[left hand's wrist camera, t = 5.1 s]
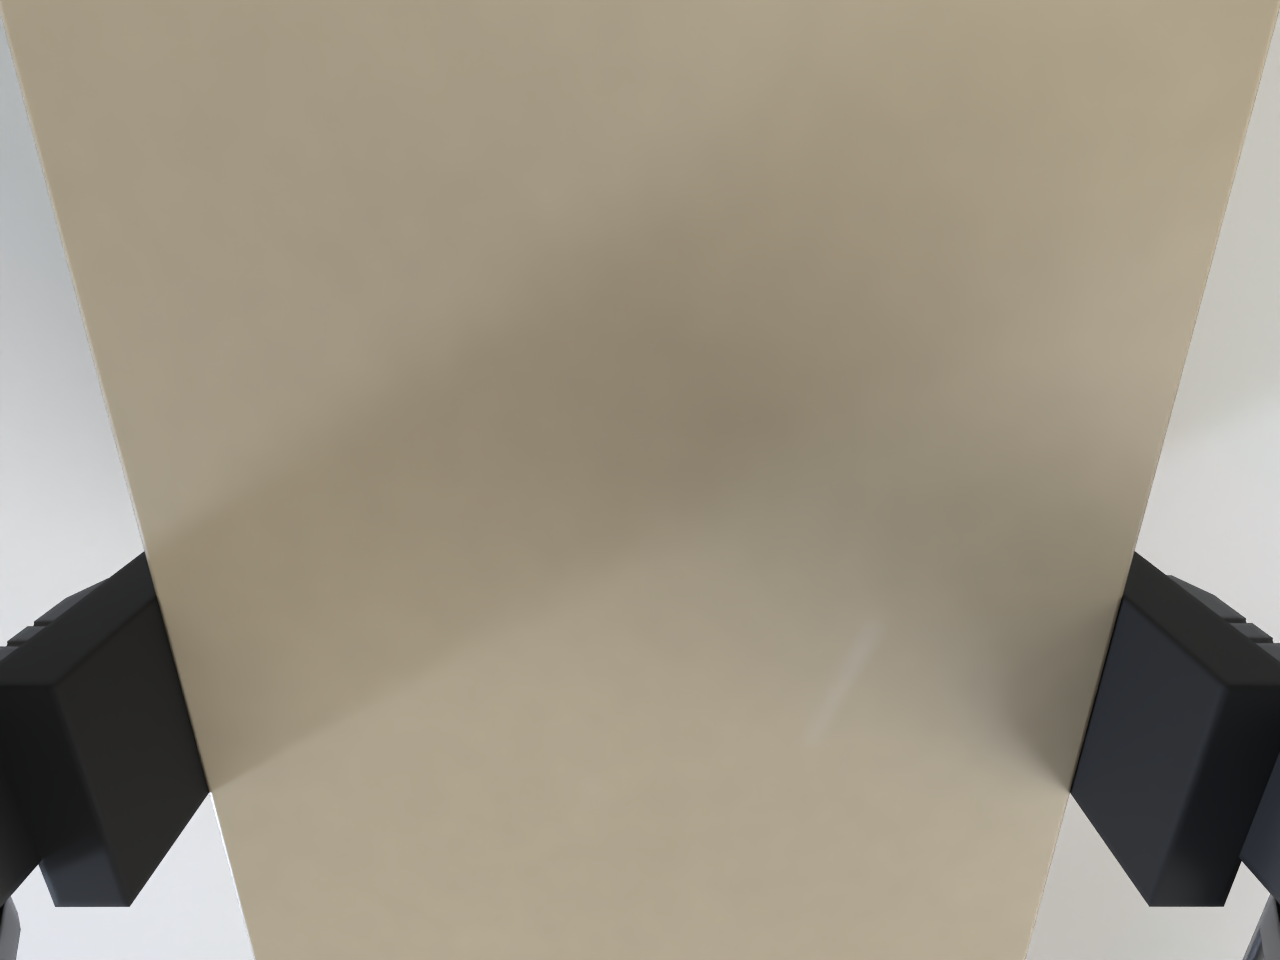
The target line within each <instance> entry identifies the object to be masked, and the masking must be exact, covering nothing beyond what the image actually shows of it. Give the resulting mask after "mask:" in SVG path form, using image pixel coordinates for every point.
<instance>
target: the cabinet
mask: <svg viewBox="0 0 1280 960" xmlns="http://www.w3.org/2000/svg"><path fill="white" fill-rule="evenodd" d="M1279 8H1280V0H0V14H1V17H2V21H3V25H4V29H5V32H6V36H7V40H8V44H9V47H10V51H11V55H12V58H13V62H14V66H15V70H16V73H17V77H18V81H19V85H20V88H21V92H22V96H23V100H24V103H25V107H26V111H27V114H28V118H29V122H30V126H31V129H32V133H33V137H34V141H35V144H36V148H37V152H38V155H39V159H40V163H41V167H42V170H43V174H44V178H45V182H46V185H47V189H48V193H49V196H50V200H51V204H52V208H53V211H54V215H55V219H56V223H57V226H58V230H59V234H60V238H61V241H62V245H63V249H64V252H65V256H66V260H67V264H68V267H69V271H70V275H71V279H72V282H73V286H74V290H75V293H76V297H77V301H78V305H79V308H80V312H81V316H82V320H83V323H84V327H85V331H86V334H87V338H88V342H89V346H90V349H91V353H92V357H93V361H94V364H95V368H96V372H97V376H98V379H99V383H100V387H101V390H102V394H103V398H104V402H105V405H106V409H107V413H108V417H109V420H110V424H111V428H112V431H113V435H114V439H115V443H116V446H117V450H118V454H119V458H120V461H121V465H122V469H123V472H124V476H125V480H126V484H127V487H128V491H129V495H130V499H131V502H132V506H133V510H134V514H135V517H136V521H137V525H138V528H139V532H140V536H141V540H142V543H143V547H144V551H145V555H146V558H147V562H148V566H149V569H150V573H151V577H152V581H153V584H154V588H155V592H156V596H157V599H158V603H159V607H160V610H161V614H162V618H163V622H164V625H165V629H166V633H167V637H168V640H169V644H170V648H171V652H172V655H173V659H174V663H175V666H176V670H177V674H178V678H179V681H180V685H181V689H182V693H183V696H184V700H185V704H186V707H187V711H188V715H189V719H190V722H191V726H192V730H193V734H194V737H195V741H196V745H197V748H198V752H199V756H200V760H201V763H202V767H203V771H204V775H205V778H206V782H207V786H208V790H209V793H210V797H211V801H212V804H213V808H214V812H215V816H216V819H217V823H218V827H219V831H220V834H221V838H222V842H223V845H224V849H225V853H226V857H227V860H228V864H229V868H230V872H231V875H232V879H233V883H234V886H235V890H236V894H237V898H238V901H239V905H240V909H241V913H242V916H243V920H244V924H245V928H246V931H247V935H248V939H249V942H250V946H251V950H252V954H253V957H254V960H1025V958H1026V954H1027V950H1028V947H1029V943H1030V939H1031V936H1032V932H1033V928H1034V924H1035V921H1036V917H1037V913H1038V909H1039V906H1040V902H1041V898H1042V894H1043V891H1044V887H1045V883H1046V879H1047V876H1048V872H1049V868H1050V864H1051V861H1052V857H1053V853H1054V850H1055V846H1056V842H1057V838H1058V835H1059V831H1060V827H1061V823H1062V820H1063V816H1064V812H1065V808H1066V805H1067V801H1068V797H1069V793H1070V790H1071V786H1072V782H1073V779H1074V775H1075V771H1076V767H1077V764H1078V760H1079V756H1080V752H1081V749H1082V745H1083V741H1084V737H1085V734H1086V730H1087V726H1088V722H1089V719H1090V715H1091V711H1092V707H1093V704H1094V700H1095V696H1096V693H1097V689H1098V685H1099V681H1100V678H1101V674H1102V670H1103V666H1104V663H1105V659H1106V655H1107V651H1108V648H1109V644H1110V640H1111V636H1112V633H1113V629H1114V625H1115V621H1116V618H1117V614H1118V610H1119V607H1120V603H1121V599H1122V595H1123V592H1124V588H1125V584H1126V580H1127V577H1128V573H1129V569H1130V565H1131V562H1132V558H1133V554H1134V550H1135V547H1136V543H1137V539H1138V535H1139V532H1140V528H1141V524H1142V521H1143V517H1144V513H1145V509H1146V506H1147V502H1148V498H1149V494H1150V491H1151V487H1152V483H1153V479H1154V476H1155V472H1156V468H1157V464H1158V461H1159V457H1160V453H1161V450H1162V446H1163V442H1164V438H1165V435H1166V431H1167V427H1168V423H1169V420H1170V416H1171V412H1172V408H1173V405H1174V401H1175V397H1176V393H1177V390H1178V386H1179V382H1180V378H1181V375H1182V371H1183V367H1184V364H1185V360H1186V356H1187V352H1188V349H1189V345H1190V341H1191V337H1192V334H1193V330H1194V326H1195V322H1196V319H1197V315H1198V311H1199V307H1200V304H1201V300H1202V296H1203V292H1204V289H1205V285H1206V281H1207V278H1208V274H1209V270H1210V266H1211V263H1212V259H1213V255H1214V251H1215V248H1216V244H1217V240H1218V236H1219V233H1220V229H1221V225H1222V221H1223V218H1224V214H1225V210H1226V206H1227V203H1228V199H1229V195H1230V192H1231V188H1232V184H1233V180H1234V177H1235V173H1236V169H1237V165H1238V162H1239V158H1240V154H1241V150H1242V147H1243V143H1244V139H1245V135H1246V132H1247V128H1248V124H1249V121H1250V117H1251V113H1252V109H1253V106H1254V102H1255V98H1256V94H1257V91H1258V87H1259V83H1260V79H1261V76H1262V72H1263V68H1264V64H1265V61H1266V57H1267V53H1268V49H1269V46H1270V42H1271V38H1272V35H1273V31H1274V27H1275V23H1276V20H1277V16H1278V12H1279Z"/></svg>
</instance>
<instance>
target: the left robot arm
mask: <svg viewBox="0 0 1280 960" xmlns="http://www.w3.org/2000/svg"><path fill="white" fill-rule="evenodd" d="M1272 640H1273V638H1272V637H1270V636H1269V635H1268V634H1266V633H1265V632H1264V631H1262V630H1261V629H1259V628H1258V627H1257V626H1255V625H1254V624H1253V623H1246V618H1244V617H1243V616H1242V615H1240V614H1239V613H1238V612H1236V611H1235V610H1234V609H1232V608H1231V607H1229V606H1228V605H1227V604H1225V603H1224V602H1223V601H1221V600H1220V599H1219V598H1217V597H1216V596H1214V595H1213V594H1210V593H1208V592H1206V591H1204V590H1202V589H1200V588H1197V587H1195V586H1193V585H1191V584H1189V583H1187V582H1185V581H1182V580H1180V579H1178V578H1176V577H1174V576H1172V575H1165V574H1164V573H1163V572H1161V571H1160V570H1159V569H1157V568H1156V567H1155V566H1153V565H1152V564H1151V563H1149V562H1148V561H1147V560H1146V559H1144V558H1143V557H1142V556H1140V555H1139V554H1138V553H1136V552H1135V551H1134V554H1133V558H1132V562H1131V565H1130V569H1129V573H1128V577H1127V580H1126V584H1125V588H1124V592H1123V595H1122V599H1121V603H1120V607H1119V610H1118V614H1117V618H1116V621H1115V625H1114V629H1113V633H1112V636H1111V640H1110V644H1109V648H1108V651H1107V655H1106V659H1105V663H1104V666H1103V670H1102V674H1101V678H1100V681H1099V685H1098V689H1097V693H1096V696H1095V700H1094V704H1093V707H1092V711H1091V715H1090V719H1089V722H1088V726H1087V730H1086V734H1085V737H1084V741H1083V745H1082V749H1081V752H1080V756H1079V760H1078V764H1077V767H1076V771H1075V775H1074V779H1073V782H1072V786H1071V790H1070V793H1071V795H1072V796H1073V797H1074V799H1075V800H1076V802H1077V803H1078V805H1079V806H1080V807H1081V809H1082V810H1083V812H1084V813H1085V815H1086V816H1087V817H1088V819H1089V820H1090V822H1091V823H1092V825H1093V826H1094V828H1095V829H1096V830H1097V832H1098V833H1099V835H1100V836H1101V838H1102V839H1103V840H1104V842H1105V843H1106V845H1107V846H1108V848H1109V849H1110V851H1111V852H1112V853H1113V855H1114V856H1115V858H1116V859H1117V861H1118V862H1119V863H1120V865H1121V866H1122V868H1123V869H1124V871H1125V872H1126V874H1127V875H1128V876H1129V878H1130V879H1131V881H1132V882H1133V884H1134V885H1135V886H1136V888H1137V889H1138V891H1139V892H1140V894H1141V895H1142V897H1143V898H1144V899H1145V901H1146V902H1147V904H1148V905H1149V907H1224V904H1225V902H1226V899H1227V897H1228V894H1229V892H1230V889H1231V887H1232V884H1233V882H1234V879H1235V876H1236V874H1237V871H1238V869H1239V866H1240V864H1241V861H1242V862H1243V863H1244V864H1245V865H1246V866H1247V867H1248V868H1249V870H1250V871H1251V872H1252V873H1253V874H1254V875H1255V876H1256V878H1257V879H1258V880H1259V881H1260V882H1261V883H1262V884H1263V886H1264V887H1265V888H1266V889H1267V890H1268V891H1269V892H1270V893H1271V894H1270V896H1269V898H1268V901H1267V903H1266V905H1265V908H1264V910H1263V913H1262V915H1261V917H1260V920H1259V922H1258V924H1257V927H1256V929H1255V932H1254V934H1253V936H1252V939H1251V941H1250V943H1249V946H1248V948H1247V951H1246V953H1245V955H1244V958H1243V960H1280V643H1273V641H1272ZM208 793H209V790H208V786H207V782H206V778H205V775H204V771H203V767H202V763H201V760H200V756H199V752H198V748H197V745H196V741H195V737H194V734H193V730H192V726H191V722H190V719H189V715H188V711H187V707H186V704H185V700H184V696H183V693H182V689H181V685H180V681H179V678H178V674H177V670H176V666H175V663H174V659H173V655H172V652H171V648H170V644H169V640H168V637H167V633H166V629H165V625H164V622H163V618H162V614H161V610H160V607H159V603H158V599H157V596H156V592H155V588H154V584H153V581H152V577H151V573H150V569H149V566H148V562H147V558H146V555H145V551H144V552H143V553H141V554H140V555H139V556H138V557H136V558H135V559H134V560H132V561H131V562H130V563H128V564H127V565H126V566H124V567H123V568H122V569H120V570H119V571H118V572H116V573H115V574H114V575H113V576H111V577H110V578H108V579H106V580H103V581H101V582H99V583H97V584H95V585H93V586H91V587H89V588H86V589H84V590H82V591H80V592H78V593H76V594H74V595H72V596H69V597H67V598H65V599H64V600H63V601H61V602H60V603H59V604H57V605H56V606H55V607H53V608H52V609H50V610H49V611H48V612H46V613H45V614H44V615H42V616H41V617H40V618H38V619H37V620H36V621H34V626H27V627H26V628H25V629H23V630H22V631H21V632H19V633H18V634H17V635H15V636H14V637H13V638H11V639H10V640H9V641H7V646H6V647H0V960H16V955H17V949H18V943H19V937H20V930H21V929H20V923H19V917H18V913H17V910H16V908H15V905H14V903H13V901H12V898H11V895H12V894H13V893H14V891H15V890H16V889H17V888H18V887H19V886H20V884H21V883H22V882H23V881H24V880H25V879H26V878H27V876H28V875H29V874H30V873H31V872H32V871H33V870H34V868H35V867H36V866H37V865H38V864H39V867H40V869H41V872H42V874H43V877H44V879H45V882H46V884H47V887H48V889H49V892H50V895H51V897H52V900H53V902H54V905H55V907H130V905H131V904H132V903H133V901H134V900H135V898H136V897H137V895H138V894H139V892H140V891H141V890H142V888H143V887H144V885H145V884H146V882H147V881H148V880H149V878H150V877H151V875H152V874H153V872H154V871H155V869H156V868H157V867H158V865H159V864H160V862H161V861H162V859H163V858H164V857H165V855H166V854H167V852H168V851H169V849H170V848H171V846H172V845H173V844H174V842H175V841H176V839H177V838H178V836H179V835H180V834H181V832H182V831H183V829H184V828H185V826H186V825H187V823H188V822H189V821H190V819H191V818H192V816H193V815H194V813H195V812H196V811H197V809H198V808H199V806H200V805H201V803H202V802H203V801H204V799H205V798H206V796H207V795H208Z"/></svg>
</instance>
